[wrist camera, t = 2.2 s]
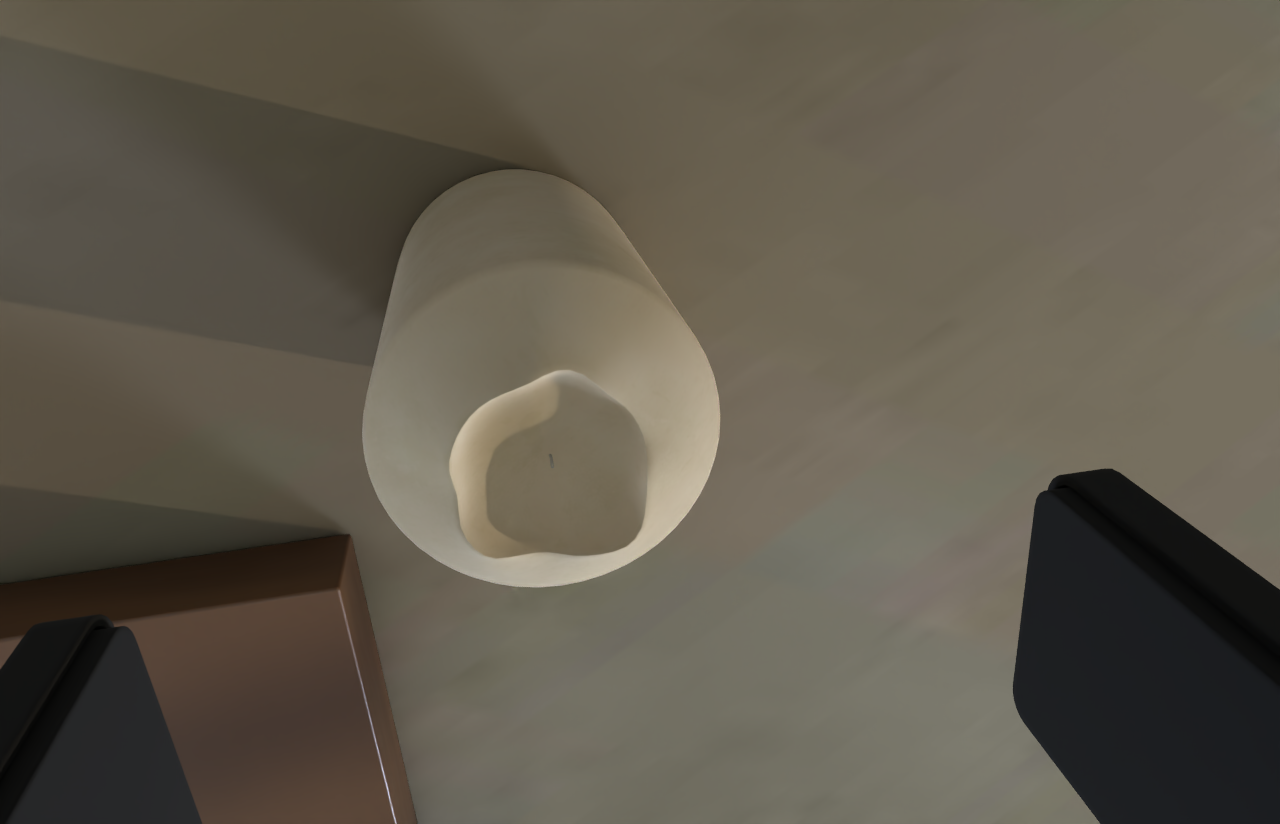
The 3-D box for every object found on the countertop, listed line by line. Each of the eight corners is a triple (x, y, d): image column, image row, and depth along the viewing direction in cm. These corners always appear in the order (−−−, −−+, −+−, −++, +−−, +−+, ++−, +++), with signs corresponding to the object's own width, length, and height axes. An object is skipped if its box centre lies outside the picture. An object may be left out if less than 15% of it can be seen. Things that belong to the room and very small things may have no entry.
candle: (677, 290, 23) (818, 480, 14) (512, 433, 24) (544, 702, 15) (523, 112, 21) (572, 203, 12) (345, 278, 21) (261, 484, 12)
